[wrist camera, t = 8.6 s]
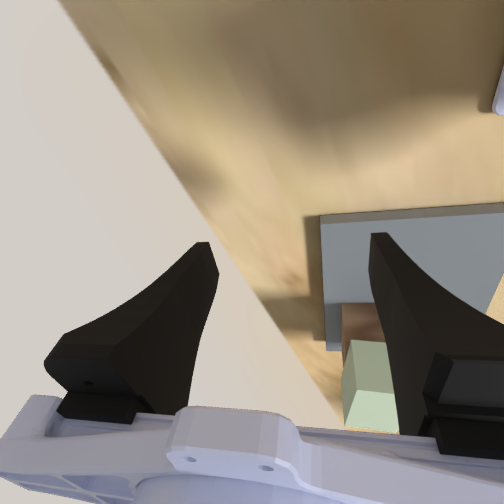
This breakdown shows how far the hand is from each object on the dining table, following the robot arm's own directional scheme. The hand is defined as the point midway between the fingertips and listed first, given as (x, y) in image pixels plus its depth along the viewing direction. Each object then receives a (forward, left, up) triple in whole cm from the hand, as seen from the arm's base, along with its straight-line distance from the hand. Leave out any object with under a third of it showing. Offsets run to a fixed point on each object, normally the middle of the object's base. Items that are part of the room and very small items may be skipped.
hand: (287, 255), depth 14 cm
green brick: (-5, +16, -4) cm, 17 cm away
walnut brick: (-5, +16, -8) cm, 18 cm away
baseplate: (-8, +12, -9) cm, 17 cm away
